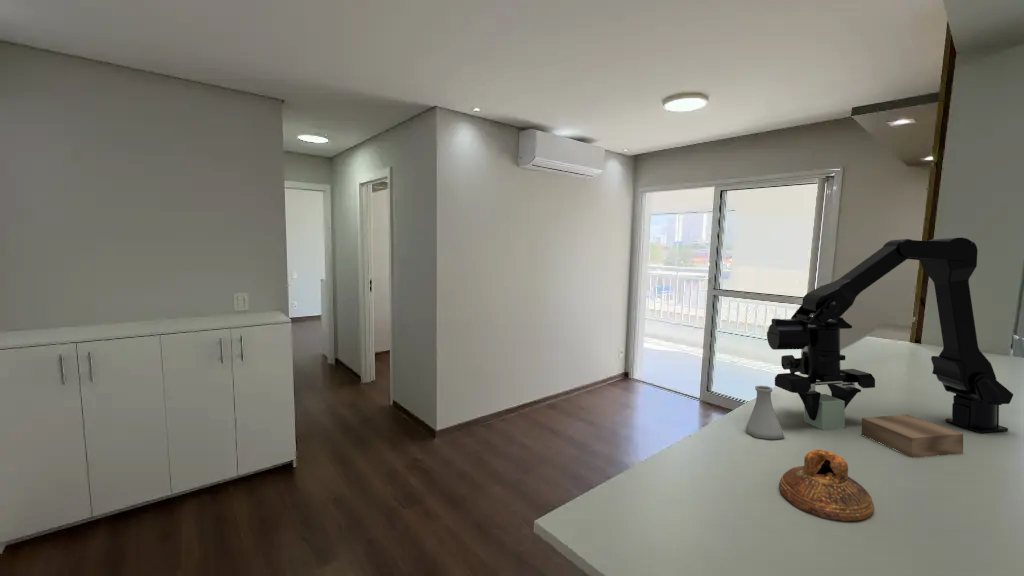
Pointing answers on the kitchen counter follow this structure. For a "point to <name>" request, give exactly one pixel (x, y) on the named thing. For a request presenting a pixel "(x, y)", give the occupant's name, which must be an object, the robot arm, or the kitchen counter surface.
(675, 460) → the kitchen counter surface
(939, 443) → the walnut block
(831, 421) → the sage cube
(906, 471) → the kitchen counter surface
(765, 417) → the flask
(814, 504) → the brown clay lid
